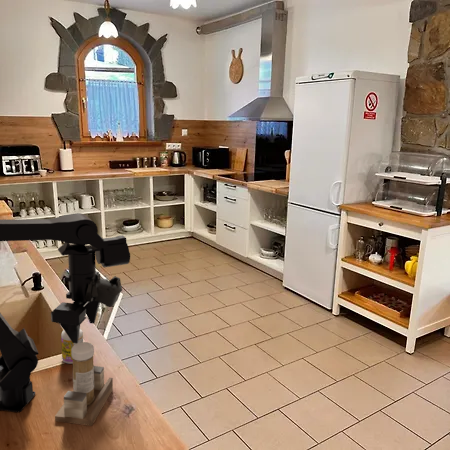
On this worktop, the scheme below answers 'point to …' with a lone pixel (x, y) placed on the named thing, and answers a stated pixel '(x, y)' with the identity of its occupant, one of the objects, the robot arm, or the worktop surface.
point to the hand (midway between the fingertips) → (84, 332)
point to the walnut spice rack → (85, 401)
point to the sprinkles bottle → (83, 369)
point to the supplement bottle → (68, 346)
